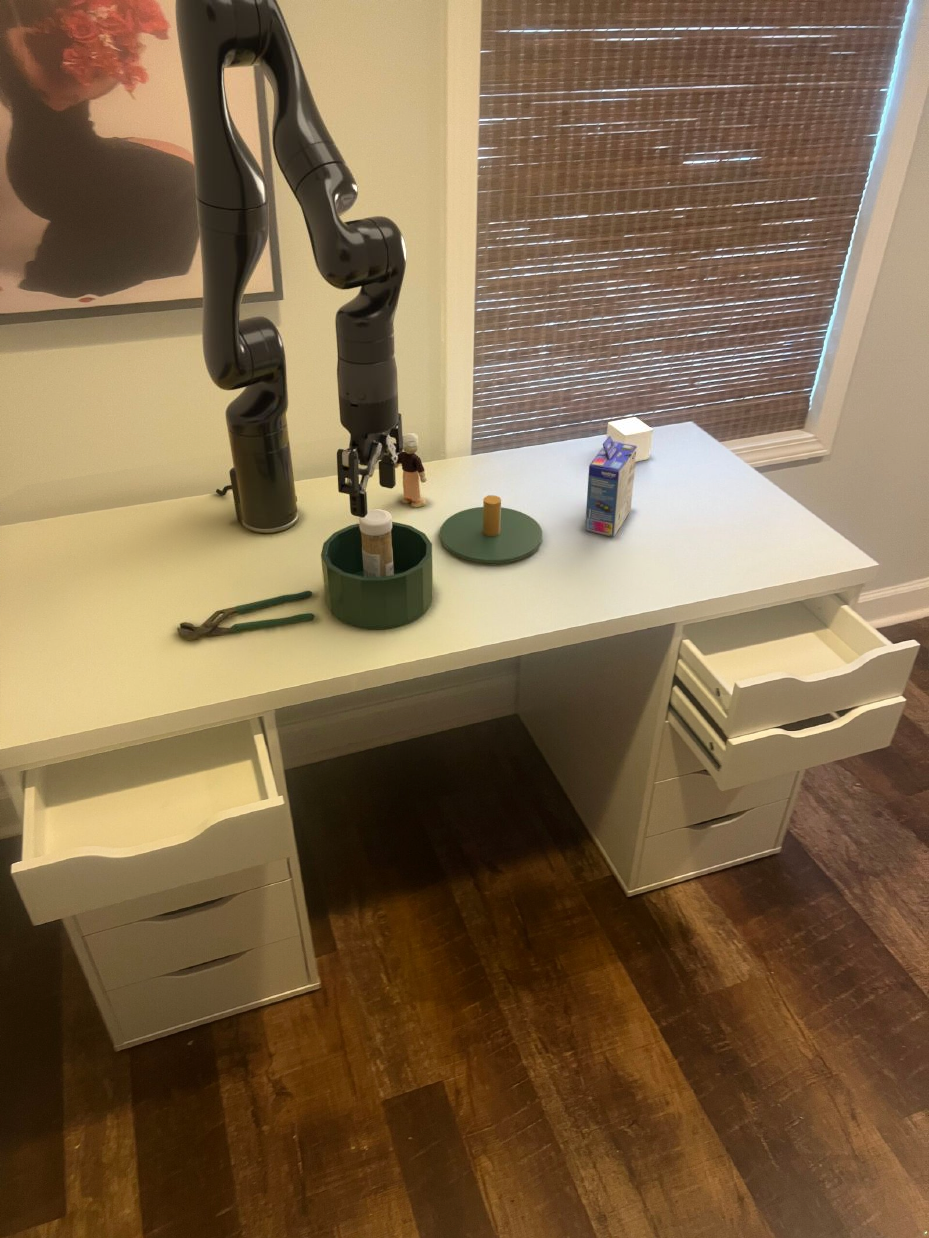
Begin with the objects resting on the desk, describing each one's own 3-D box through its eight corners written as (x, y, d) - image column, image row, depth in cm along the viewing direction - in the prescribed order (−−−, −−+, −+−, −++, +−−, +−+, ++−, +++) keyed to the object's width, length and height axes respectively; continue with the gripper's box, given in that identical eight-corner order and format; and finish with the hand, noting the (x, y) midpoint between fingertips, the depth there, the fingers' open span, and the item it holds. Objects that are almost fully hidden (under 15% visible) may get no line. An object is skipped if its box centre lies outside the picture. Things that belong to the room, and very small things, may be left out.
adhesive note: (621, 465, 168) (625, 435, 165) (604, 451, 173) (607, 422, 169) (648, 459, 170) (653, 429, 167) (631, 445, 175) (635, 416, 171)
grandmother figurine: (436, 502, 157) (435, 434, 149) (423, 511, 154) (421, 443, 146) (399, 490, 160) (397, 423, 152) (387, 499, 157) (383, 432, 150)
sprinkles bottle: (401, 597, 133) (397, 518, 125) (373, 607, 131) (368, 527, 123) (385, 582, 136) (381, 504, 128) (358, 592, 134) (352, 513, 126)
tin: (307, 614, 130) (301, 565, 125) (357, 559, 142) (354, 512, 137) (404, 640, 126) (402, 590, 121) (449, 582, 137) (449, 534, 132)
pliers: (311, 595, 134) (311, 588, 134) (321, 619, 129) (320, 612, 129) (175, 620, 129) (174, 612, 128) (180, 646, 124) (178, 638, 123)
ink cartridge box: (600, 503, 157) (608, 426, 148) (631, 510, 155) (641, 432, 146) (581, 530, 149) (589, 450, 141) (614, 538, 148) (623, 457, 139)
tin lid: (423, 552, 144) (422, 513, 139) (463, 505, 156) (463, 467, 152) (522, 575, 139) (524, 535, 134) (555, 524, 151) (558, 486, 147)
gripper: (367, 364, 121) (373, 472, 130) (313, 404, 110) (323, 519, 120) (418, 373, 118) (420, 483, 128) (368, 415, 108) (374, 531, 118)
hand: (373, 500), depth 124 cm, fingers open, 8 cm apart
